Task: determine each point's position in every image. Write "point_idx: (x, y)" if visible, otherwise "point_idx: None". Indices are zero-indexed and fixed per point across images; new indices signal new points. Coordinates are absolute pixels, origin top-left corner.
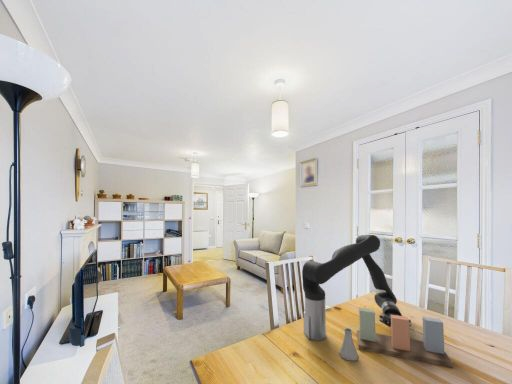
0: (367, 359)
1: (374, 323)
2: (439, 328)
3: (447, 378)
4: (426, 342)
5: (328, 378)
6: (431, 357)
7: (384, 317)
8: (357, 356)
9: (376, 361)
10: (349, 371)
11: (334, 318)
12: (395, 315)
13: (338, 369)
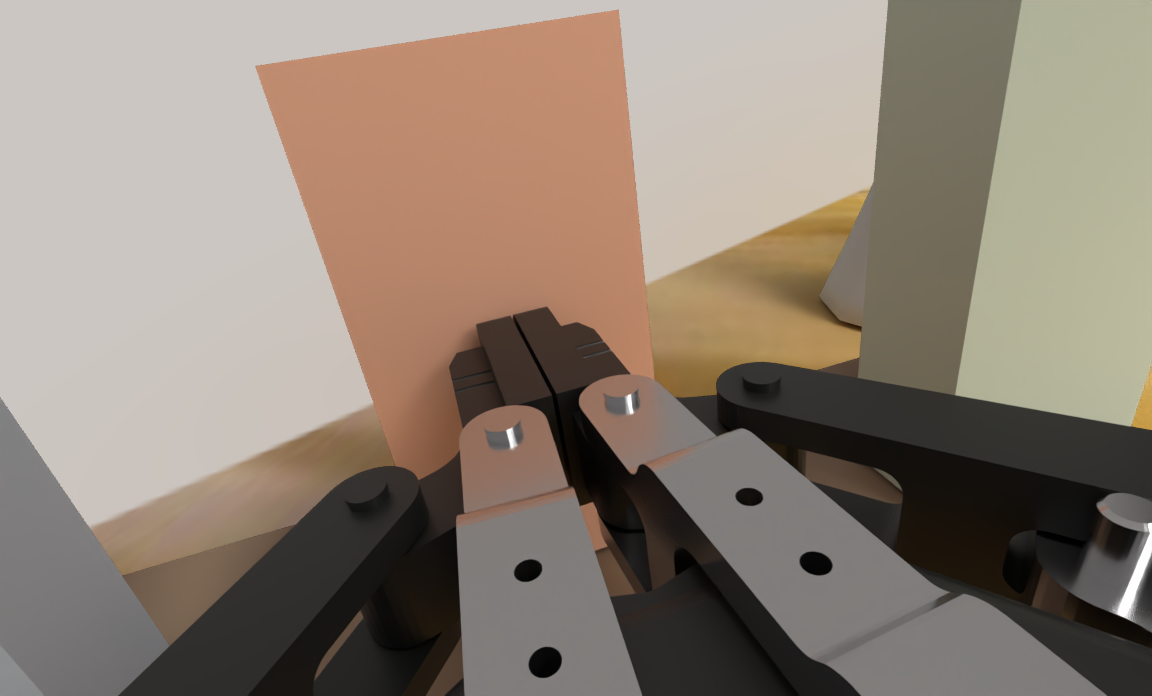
0: (777, 340)
1: (884, 190)
2: None
3: (210, 481)
4: (104, 573)
5: (822, 210)
6: (199, 570)
7: (1033, 452)
8: (836, 302)
9: (715, 356)
10: (787, 253)
11: None
12: (520, 25)
13: (837, 239)
